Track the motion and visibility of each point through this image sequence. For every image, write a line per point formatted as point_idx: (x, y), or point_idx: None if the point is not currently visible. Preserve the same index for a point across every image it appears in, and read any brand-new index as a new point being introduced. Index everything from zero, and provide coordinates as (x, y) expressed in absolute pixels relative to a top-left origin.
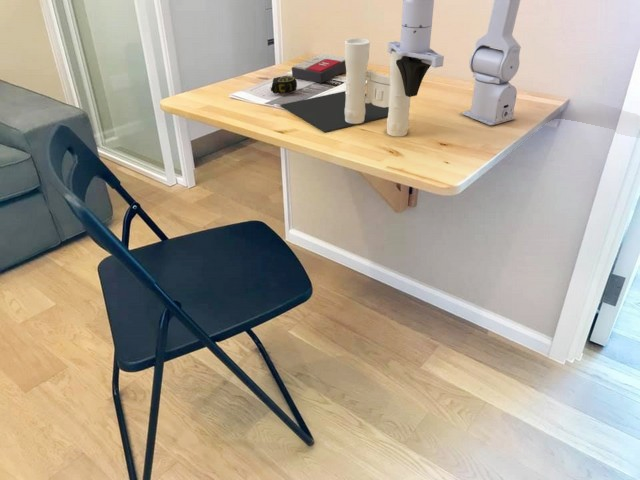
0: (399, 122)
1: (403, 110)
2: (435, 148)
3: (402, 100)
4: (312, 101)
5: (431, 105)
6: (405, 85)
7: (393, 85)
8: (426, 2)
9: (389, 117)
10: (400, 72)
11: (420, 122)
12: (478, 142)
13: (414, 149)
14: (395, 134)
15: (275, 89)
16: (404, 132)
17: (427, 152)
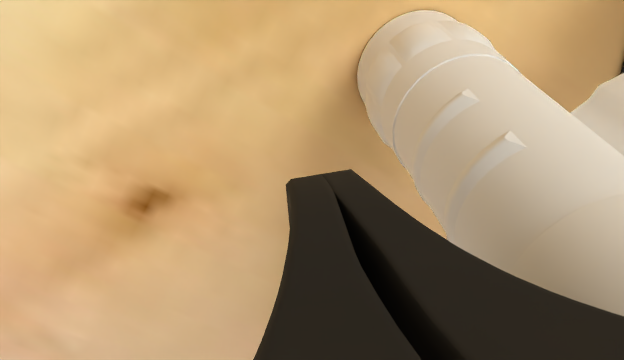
0: (393, 81)
1: (412, 140)
2: (115, 144)
3: (449, 168)
4: None
5: None
6: (365, 218)
7: (594, 176)
8: None
9: (471, 48)
10: (523, 283)
11: None
12: (106, 343)
13: (150, 29)
14: (380, 35)
15: None
16: (363, 91)
17: (76, 75)
